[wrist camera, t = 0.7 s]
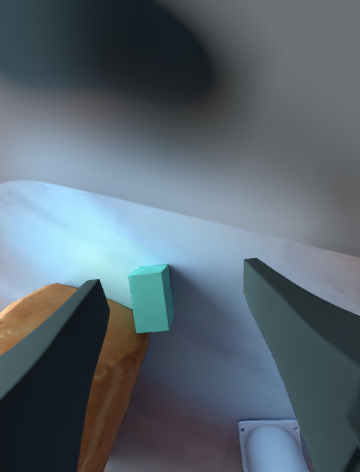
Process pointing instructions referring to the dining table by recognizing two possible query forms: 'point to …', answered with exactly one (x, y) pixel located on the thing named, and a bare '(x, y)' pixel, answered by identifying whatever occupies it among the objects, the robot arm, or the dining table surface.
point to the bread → (107, 371)
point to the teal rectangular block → (152, 298)
